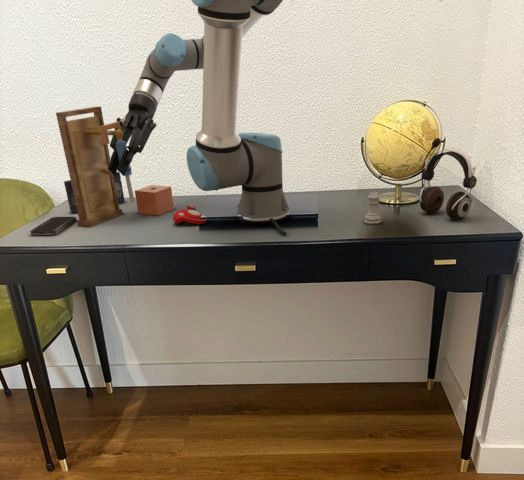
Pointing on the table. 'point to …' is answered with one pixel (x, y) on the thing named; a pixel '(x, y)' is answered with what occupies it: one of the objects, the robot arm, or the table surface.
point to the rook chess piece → (373, 209)
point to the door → (89, 166)
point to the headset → (434, 195)
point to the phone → (53, 226)
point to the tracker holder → (188, 215)
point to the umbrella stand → (154, 200)
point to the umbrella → (118, 151)
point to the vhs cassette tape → (72, 200)
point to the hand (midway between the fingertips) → (116, 171)
